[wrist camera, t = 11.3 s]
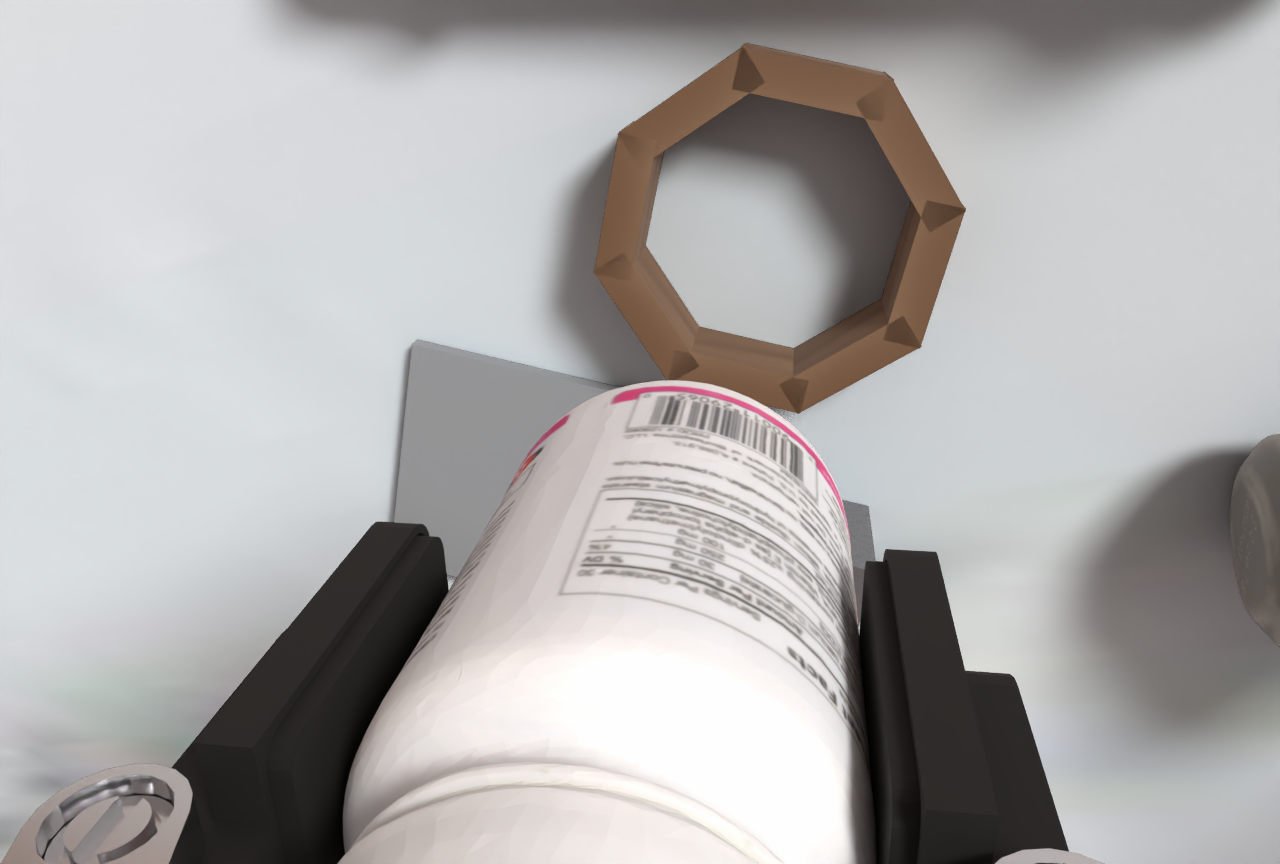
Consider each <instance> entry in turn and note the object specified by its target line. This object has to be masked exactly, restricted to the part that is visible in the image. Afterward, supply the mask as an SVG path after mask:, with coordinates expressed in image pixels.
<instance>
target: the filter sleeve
mask: <svg viewBox="0 0 1280 864" xmlns="http://www.w3.org/2000/svg"><path fill="white" fill-rule="evenodd" d="M749 93H751V94H756V95H761V96H765V97H770V98H774V99H779V100H784V101H788V102H793V103H797V104H802V105H807V106H811V107H816V108H820V109H825V110H830V111H834V112H839V113H843V114H848V115H853V116H857V117H862V118H865V120H866V122H867V124H868V125H869V127H870V129H871V131H872V132H873V134H874V136H875V138H876V139H877V141H878V143H879V145H880V146H881V148H882V150H883V152H884V154H885V155H886V157H887V159H888V161H889V162H890V164H891V166H892V168H893V169H894V171H895V173H896V175H897V176H898V178H899V180H900V182H901V183H902V185H903V187H904V189H905V190H906V192H907V194H908V196H909V197H910V199H911V203H910V206H909V209H908V212H907V216H906V219H905V222H904V226H903V229H902V232H901V235H900V239H899V242H898V245H897V249H896V252H895V255H894V258H893V262H892V265H891V268H890V272H889V275H888V278H887V282H886V285H885V288H884V291H883V295H882V298H881V299H880V300H878V301H877V302H875V303H873V304H871V305H869V306H868V307H866V308H864V309H862V310H861V311H859V312H857V313H855V314H854V315H852V316H850V317H848V318H847V319H845V320H843V321H841V322H840V323H838V324H836V325H834V326H832V327H831V328H829V329H827V330H825V331H824V332H822V333H820V334H818V335H817V336H815V337H813V338H811V339H810V340H808V341H806V342H804V343H803V344H801V345H799V346H797V347H795V348H790V347H785V346H781V345H777V344H772V343H768V342H764V341H759V340H755V339H751V338H746V337H742V336H738V335H733V334H729V333H725V332H720V331H716V330H712V329H707V328H703V327H699V326H698V324H697V323H696V321H695V320H694V318H693V317H692V315H691V314H690V312H689V311H688V309H687V308H686V306H685V304H684V303H683V301H682V300H681V298H680V297H679V295H678V294H677V292H676V291H675V289H674V288H673V286H672V285H671V283H670V282H669V280H668V279H667V277H666V276H665V274H664V273H663V271H662V270H661V268H660V266H659V265H658V263H657V262H656V260H655V259H654V257H653V256H652V254H651V253H650V251H649V250H648V248H647V247H646V240H647V235H648V230H649V225H650V220H651V215H652V210H653V205H654V200H655V195H656V190H657V185H658V179H659V174H660V169H661V164H662V159H663V154H664V151H665V150H666V149H667V148H669V147H670V146H672V145H673V144H675V143H676V142H678V141H679V140H681V139H682V138H684V137H685V136H687V135H688V134H690V133H691V132H693V131H694V130H696V129H697V128H699V127H700V126H702V125H703V124H704V123H706V122H707V121H709V120H710V119H712V118H713V117H715V116H716V115H718V114H719V113H721V112H722V111H724V110H725V109H727V108H728V107H730V106H731V105H733V104H734V103H736V102H737V101H739V100H740V99H741V98H743V97H744V96H746V95H747V94H749ZM965 210H966V208H965V207H964V206H963V205H962V203H961V202H960V200H959V198H958V196H957V194H956V193H955V191H954V189H953V187H952V185H951V184H950V182H949V180H948V178H947V176H946V175H945V173H944V171H943V169H942V167H941V166H940V164H939V162H938V160H937V158H936V157H935V155H934V153H933V151H932V149H931V148H930V146H929V144H928V142H927V140H926V139H925V137H924V135H923V133H922V132H921V130H920V128H919V126H918V124H917V123H916V121H915V119H914V117H913V115H912V114H911V112H910V110H909V108H908V106H907V105H906V103H905V101H904V99H903V97H902V96H901V94H900V92H899V90H898V88H897V87H896V85H895V83H894V79H893V78H891V77H890V76H889V75H888V74H887V73H885V72H879V71H874V70H870V69H865V68H860V67H856V66H851V65H846V64H842V63H837V62H832V61H828V60H823V59H818V58H814V57H809V56H804V55H800V54H795V53H790V52H786V51H781V50H776V49H772V48H767V47H762V46H758V45H753V44H749V43H745V44H744V45H743V46H742V47H741V48H740V49H739V50H737V51H736V52H734V53H733V54H731V55H730V56H728V57H727V58H726V59H724V60H723V61H721V62H720V63H718V64H717V65H716V66H714V67H713V68H711V69H710V70H708V71H707V72H705V73H704V74H703V75H701V76H700V77H698V78H697V79H695V80H694V81H693V82H691V83H690V84H688V85H687V86H685V87H684V88H682V89H681V90H680V91H678V92H677V93H675V94H674V95H672V96H671V97H670V98H668V99H667V100H665V101H664V102H662V103H661V104H659V105H658V106H657V107H655V108H654V109H652V110H651V111H649V112H648V113H647V114H645V115H644V116H642V117H641V118H639V119H638V120H636V121H635V122H634V121H633V122H632V123H631V124H629V125H628V126H626V127H625V128H624V129H622V130H621V131H620V132H619V134H618V139H617V145H616V151H615V156H614V162H613V168H612V173H611V179H610V185H609V190H608V196H607V202H606V207H605V213H604V219H603V224H602V230H601V236H600V241H599V247H598V252H597V258H596V264H595V269H594V271H593V272H594V274H595V275H596V276H597V277H598V279H599V280H600V282H601V283H602V285H603V286H604V288H605V289H606V291H607V292H608V294H609V295H610V297H611V298H612V300H613V301H614V303H615V304H616V305H617V307H618V308H619V310H620V311H621V313H622V314H623V316H624V317H625V319H626V320H627V322H628V323H629V325H630V326H631V328H632V329H633V331H634V332H635V333H636V335H637V336H638V338H639V339H640V341H641V342H642V344H643V345H644V347H645V348H646V350H647V351H648V353H649V354H650V356H651V357H652V359H653V360H654V362H655V363H656V364H657V366H658V367H659V369H660V370H661V372H662V373H663V375H664V376H665V378H666V379H667V380H680V381H692V382H699V383H706V384H712V385H715V386H719V387H723V388H726V389H729V390H732V391H734V392H737V393H740V394H742V395H744V396H747V397H749V398H751V399H753V400H755V401H757V402H759V403H761V404H763V405H766V406H770V407H774V408H779V409H783V410H787V411H791V412H796V413H797V414H798V413H800V412H802V411H804V410H805V409H807V408H809V407H811V406H813V405H815V404H816V403H818V402H820V401H822V400H824V399H826V398H828V397H829V396H831V395H833V394H835V393H837V392H839V391H840V390H842V389H844V388H846V387H848V386H850V385H852V384H853V383H855V382H857V381H859V380H861V379H863V378H864V377H866V376H868V375H870V374H872V373H874V372H876V371H877V370H879V369H881V368H883V367H885V366H887V365H888V364H890V363H892V362H894V361H896V360H898V359H900V358H901V357H903V356H905V355H907V354H909V353H911V352H912V351H914V350H916V349H918V348H920V347H922V346H921V344H922V341H923V338H924V335H925V332H926V329H927V325H928V322H929V319H930V316H931V313H932V310H933V307H934V304H935V301H936V298H937V295H938V292H939V289H940V286H941V283H942V280H943V277H944V274H945V271H946V267H947V264H948V261H949V258H950V255H951V252H952V249H953V246H954V243H955V240H956V237H957V234H958V231H959V228H960V225H961V222H962V219H963V216H964V213H965V212H966V211H965Z"/></svg>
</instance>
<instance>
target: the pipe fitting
mask: <svg viewBox="0 0 1280 864" xmlns="http://www.w3.org/2000/svg"><path fill="white" fill-rule="evenodd" d="M1231 544H1232V553H1233V561H1234V567H1235V573H1236V578H1237V583H1238V587H1239V591H1240V594H1241V597H1242V600H1243V603H1244V605H1245V607H1246V609H1247V611H1248V613H1249V615H1250V616H1251V617H1252V619H1253V620H1254V621H1255V622H1256V623H1257V624H1258V625H1259V627H1260V628H1261V629H1262V630H1263V631H1264V632H1265V633H1266V634H1267V635H1268V636H1269V637H1270V638H1271V639H1272V640H1273V641H1274V643H1276V644H1277V645H1278V646H1279V647H1280V434H1276V435H1271V436H1268V437H1266V438H1265V439H1263V440H1262V441H1261V442H1259V443H1258V445H1257V446H1256V447H1255V448H1254V449H1253V451H1252V452H1251V453H1250V454H1249V456H1248V457H1247V458H1246V460H1245V461H1244V463H1243V464H1242V466H1241V467H1240V469H1239V471H1238V473H1237V475H1236V478H1235V482H1234V486H1233V491H1232V499H1231Z"/></svg>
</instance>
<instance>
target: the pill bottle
mask: <svg viewBox="0 0 1280 864" xmlns="http://www.w3.org/2000/svg"><path fill="white" fill-rule="evenodd" d="M343 841H344V850H345V855H344V856H343V857H342V859H341V860H340V861H339V862H338V864H877V836H876V820H875V809H874V800H873V791H872V779H871V770H870V759H869V748H868V735H867V724H866V711H865V700H864V689H863V677H862V666H861V654H860V641H859V630H858V622H857V610H856V599H855V588H854V577H853V567H852V557H851V544H850V535H849V530H848V524H847V519H846V515H845V511H844V506H843V502H842V499H841V496H840V494H839V491H838V488H837V486H836V483H835V481H834V479H833V477H832V475H831V473H830V472H829V470H828V468H827V466H826V464H825V463H824V461H823V460H822V458H821V457H820V455H819V454H818V453H817V451H816V450H815V449H814V448H813V446H812V445H811V444H810V443H809V442H808V440H807V439H806V438H805V437H804V436H803V435H802V434H801V433H800V432H799V431H798V430H797V429H796V428H795V427H794V426H793V425H792V424H790V423H789V422H788V421H787V420H785V419H784V418H783V417H781V416H780V415H778V414H777V413H775V412H774V411H772V410H771V409H769V408H768V407H766V406H764V405H763V404H761V403H759V402H757V401H755V400H753V399H751V398H749V397H747V396H744V395H742V394H740V393H737V392H734V391H732V390H729V389H726V388H723V387H719V386H715V385H712V384H706V383H699V382H692V381H680V380H662V381H652V382H644V383H638V384H633V385H629V386H625V387H621V388H617V389H613V390H610V391H607V392H604V393H602V394H600V395H598V396H595V397H593V398H591V399H589V400H587V401H585V402H584V403H582V404H580V405H579V406H577V407H575V408H574V409H572V410H571V411H569V412H568V413H567V414H565V415H564V416H563V417H561V418H560V419H559V420H558V421H557V422H556V423H554V424H553V425H552V426H551V427H550V428H549V429H548V430H547V431H546V432H545V433H544V435H543V436H542V437H541V438H540V439H539V441H538V442H537V443H536V444H535V445H534V447H533V448H532V449H531V450H530V452H529V453H528V455H527V456H526V458H525V459H524V461H523V462H522V464H521V465H520V467H519V469H518V471H517V473H516V474H515V476H514V478H513V480H512V482H511V484H510V486H509V488H508V489H507V491H506V493H505V495H504V497H503V499H502V501H501V503H500V504H499V506H498V508H497V509H496V511H495V513H494V515H493V516H492V518H491V520H490V521H489V523H488V524H487V526H486V528H485V530H484V532H483V534H482V536H481V537H480V539H479V541H478V543H477V544H476V546H475V548H474V549H473V551H472V553H471V554H470V556H469V558H468V560H467V561H466V563H465V565H464V566H463V568H462V570H461V571H460V573H459V575H458V576H457V578H456V580H455V581H454V583H453V585H452V586H451V588H450V590H449V591H448V593H447V595H446V597H445V598H444V600H443V602H442V604H441V605H440V607H439V609H438V611H437V613H436V614H435V616H434V618H433V619H432V621H431V622H430V624H429V626H428V627H427V629H426V630H425V632H424V634H423V635H422V637H421V639H420V641H419V642H418V644H417V646H416V647H415V649H414V651H413V652H412V654H411V655H410V657H409V659H408V660H407V662H406V664H405V665H404V667H403V668H402V670H401V672H400V673H399V675H398V677H397V678H396V680H395V681H394V683H393V685H392V686H391V688H390V689H389V691H388V693H387V694H386V696H385V697H384V699H383V701H382V703H381V705H380V706H379V708H378V710H377V712H376V714H375V716H374V718H373V720H372V721H371V723H370V725H369V727H368V729H367V731H366V733H365V735H364V737H363V740H362V742H361V744H360V746H359V748H358V751H357V753H356V755H355V758H354V761H353V764H352V767H351V770H350V773H349V777H348V782H347V786H346V792H345V799H344V807H343Z"/></svg>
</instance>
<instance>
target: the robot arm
mask: <svg viewBox="0 0 1280 864" xmlns="http://www.w3.org/2000/svg"><path fill="white" fill-rule="evenodd" d="M448 591H449V590H448V581H447V572H446V563H445V554H444V547H443V543H442V541H441V539H440V538H439V537H434V536H429V532H428V530H427V527H426V526H425V525H423V524H414V523H396V522H376V523H374V524H373V525H372V526H371V527H370V529H369V530H368V531H367V532H366V533H365V535H364V536H363V537H362V538H361V539H360V541H359V542H358V543H357V544H356V546H355V547H354V548H353V549H352V550H351V552H350V553H349V554H348V555H347V557H346V558H345V559H344V560H343V561H342V563H341V564H340V565H339V566H338V568H337V569H336V570H335V571H334V572H333V574H332V575H331V576H330V577H329V579H328V580H327V581H326V582H325V583H324V585H323V586H322V587H321V588H320V589H319V591H318V592H317V593H316V594H315V596H314V597H313V598H312V599H311V600H310V602H309V603H308V604H307V605H306V607H305V608H304V609H303V610H302V611H301V613H300V614H299V615H298V616H297V618H296V619H295V620H294V621H293V622H292V624H291V625H290V626H289V627H288V629H286V630H285V631H284V632H283V633H282V634H281V635H280V637H279V638H278V639H277V640H276V641H275V643H274V644H273V645H272V646H271V647H270V649H269V650H268V651H267V652H266V654H265V655H264V656H263V657H262V658H261V660H260V661H259V662H258V663H257V664H256V666H255V667H254V668H253V669H252V671H251V672H250V673H249V674H248V675H247V677H246V678H245V679H244V680H243V682H242V683H241V684H240V685H239V686H238V688H237V689H236V690H235V691H234V692H233V694H232V695H231V696H230V697H229V699H228V700H227V701H226V702H225V703H224V705H223V706H222V707H221V708H220V709H219V711H218V712H217V713H216V714H215V716H214V717H213V718H212V719H211V720H210V722H209V723H208V724H207V725H206V727H205V728H204V729H203V730H202V731H201V733H200V734H199V735H198V736H197V737H196V739H195V740H194V741H193V742H192V744H191V745H190V746H189V747H188V748H187V750H186V751H185V752H184V753H183V754H182V756H181V757H180V758H179V759H178V761H177V762H176V763H175V764H174V765H173V767H172V768H169V767H165V766H162V765H159V764H130V765H125V766H120V767H115V768H109V769H106V770H104V771H101V772H98V773H95V774H93V775H90V776H87V777H85V778H82V779H80V780H78V781H77V782H75V783H73V784H71V785H70V786H68V787H66V788H64V789H62V790H61V791H59V792H57V793H56V794H55V795H54V796H52V797H51V798H50V799H49V800H47V801H46V802H45V803H44V804H42V805H41V806H40V807H39V808H38V809H37V810H36V811H35V812H34V813H33V815H32V816H31V817H30V818H29V820H28V821H27V822H26V823H25V825H24V826H23V827H22V829H21V830H20V832H19V834H18V835H17V837H16V839H15V841H14V842H13V844H12V846H11V847H10V849H9V851H8V852H7V854H6V856H5V857H4V859H3V861H2V862H1V864H338V862H339V861H340V860H341V859H342V857H343V856H344V855H345V850H344V841H343V807H344V799H345V792H346V786H347V782H348V777H349V773H350V770H351V767H352V764H353V761H354V758H355V755H356V753H357V751H358V748H359V746H360V744H361V742H362V740H363V737H364V735H365V733H366V731H367V729H368V727H369V725H370V723H371V721H372V720H373V718H374V716H375V714H376V712H377V710H378V708H379V706H380V705H381V703H382V701H383V699H384V697H385V696H386V694H387V693H388V691H389V689H390V688H391V686H392V685H393V683H394V681H395V680H396V678H397V677H398V675H399V673H400V672H401V670H402V668H403V667H404V665H405V664H406V662H407V660H408V659H409V657H410V655H411V654H412V652H413V651H414V649H415V647H416V646H417V644H418V642H419V641H420V639H421V637H422V635H423V634H424V632H425V630H426V629H427V627H428V626H429V624H430V622H431V621H432V619H433V618H434V616H435V614H436V613H437V611H438V609H439V607H440V605H441V604H442V602H443V600H444V598H445V597H446V595H447V593H448ZM859 641H860V654H861V666H862V677H863V689H864V700H865V711H866V724H867V735H868V748H869V759H870V770H871V779H872V791H873V800H874V809H875V820H876V836H877V864H1105V863H1102V862H1099V861H1097V860H1094V859H1092V858H1089V857H1086V856H1084V855H1081V854H1079V853H1074V852H1069V850H1068V847H1067V844H1066V840H1065V837H1064V834H1063V831H1062V827H1061V824H1060V821H1059V818H1058V814H1057V811H1056V808H1055V805H1054V801H1053V798H1052V795H1051V792H1050V789H1049V785H1048V782H1047V779H1046V776H1045V772H1044V769H1043V766H1042V763H1041V759H1040V756H1039V753H1038V750H1037V746H1036V743H1035V740H1034V737H1033V734H1032V730H1031V727H1030V724H1029V721H1028V717H1027V714H1026V711H1025V708H1024V704H1023V701H1022V698H1021V695H1020V691H1019V688H1018V685H1017V683H1016V681H1015V678H1014V677H1013V676H1012V675H1010V674H1003V673H989V672H975V671H965V669H964V665H963V660H962V656H961V652H960V648H959V643H958V639H957V635H956V631H955V627H954V622H953V618H952V614H951V610H950V606H949V601H948V597H947V593H946V589H945V584H944V580H943V576H942V572H941V568H940V563H939V559H938V556H937V553H936V552H927V551H909V550H891V549H886V550H885V553H884V558H883V562H878V561H866V563H865V570H864V582H863V595H862V608H861V621H860V634H859Z"/></svg>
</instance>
